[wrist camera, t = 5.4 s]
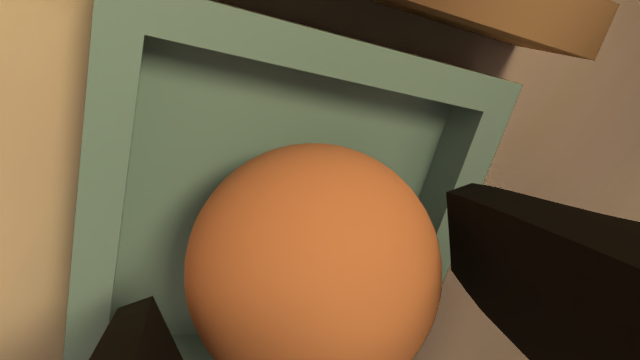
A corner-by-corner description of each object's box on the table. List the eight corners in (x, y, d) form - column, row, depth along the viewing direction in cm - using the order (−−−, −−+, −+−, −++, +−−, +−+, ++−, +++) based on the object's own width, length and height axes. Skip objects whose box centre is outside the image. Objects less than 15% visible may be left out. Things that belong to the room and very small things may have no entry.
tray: (475, 71, 12) (522, 84, 10) (377, 338, 15) (403, 381, 13) (107, -29, 9) (96, -29, 7) (72, 345, 11) (59, 402, 10)
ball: (360, 89, 11) (504, 165, 6) (382, 258, 13) (500, 398, 9) (144, 149, 9) (143, 290, 5) (210, 322, 12) (247, 519, 7)
